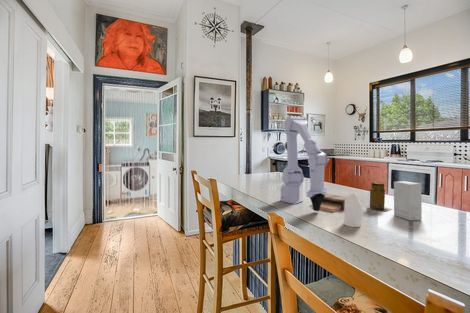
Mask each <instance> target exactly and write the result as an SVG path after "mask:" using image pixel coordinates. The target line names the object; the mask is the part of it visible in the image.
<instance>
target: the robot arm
mask: <svg viewBox="0 0 470 313" xmlns="http://www.w3.org/2000/svg"><path fill="white" fill-rule="evenodd" d="M308 123H309V122H308V119H307V117H306V116H287V117H286V118H285V120H284V133H285V134H286V151H287V153H286V155H287V166H286V167H285V168H284V169H283V170H282V176H281V179H282V182H283V184H282V185H281V187H280V199H279V201H280V202H284V203H288V204H293V205H296V204H299V203H303V201H304V200H303V199H300V195H301V194H300V193H301V190H300V189H301V186H302V183H303V182H304V180H305V177H304V174H303V169H302V168H301V167H300V166H299V160H298V141H297V140H298V138H297V137H298V135H300V137H301V139H302V140H303V142H304V143H303V148H304V150H305V151H306V154H307V156H308V159H307V162H308V166H309V170H310V184H309V185H310V186H309V187H310V189H309V190H308V191H307V192H306V197H308V198H309V199H310V201H311V205H312V209H313V211H315V212H320V207H321V203H322V201H323V199H324V197H325V195H324V194H321V193H325V194H327V188H326V187H325V166H327V164H328V160H329V159H328V156H327V153H325V152H324V151H322V150H321V149H320V146H319V144H318V143H317V141H316V140H315V139H312V136H311V134H310V131H309V128H308V125H309V124H308Z"/></svg>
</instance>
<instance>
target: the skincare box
mask: <svg viewBox="0 0 470 313" xmlns="http://www.w3.org/2000/svg"><path fill="white" fill-rule="evenodd" d="M422 208H423V207H422V183H419V182H415V181H414V182H412V181H407V180H403V181H401V180H400V181H398V180H397V181H393V215H394V216H395V217H398V218H402V219H405V220H408V221H421V220H422V219H423V217H422V214H423V213H422V210H423V209H422Z"/></svg>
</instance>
